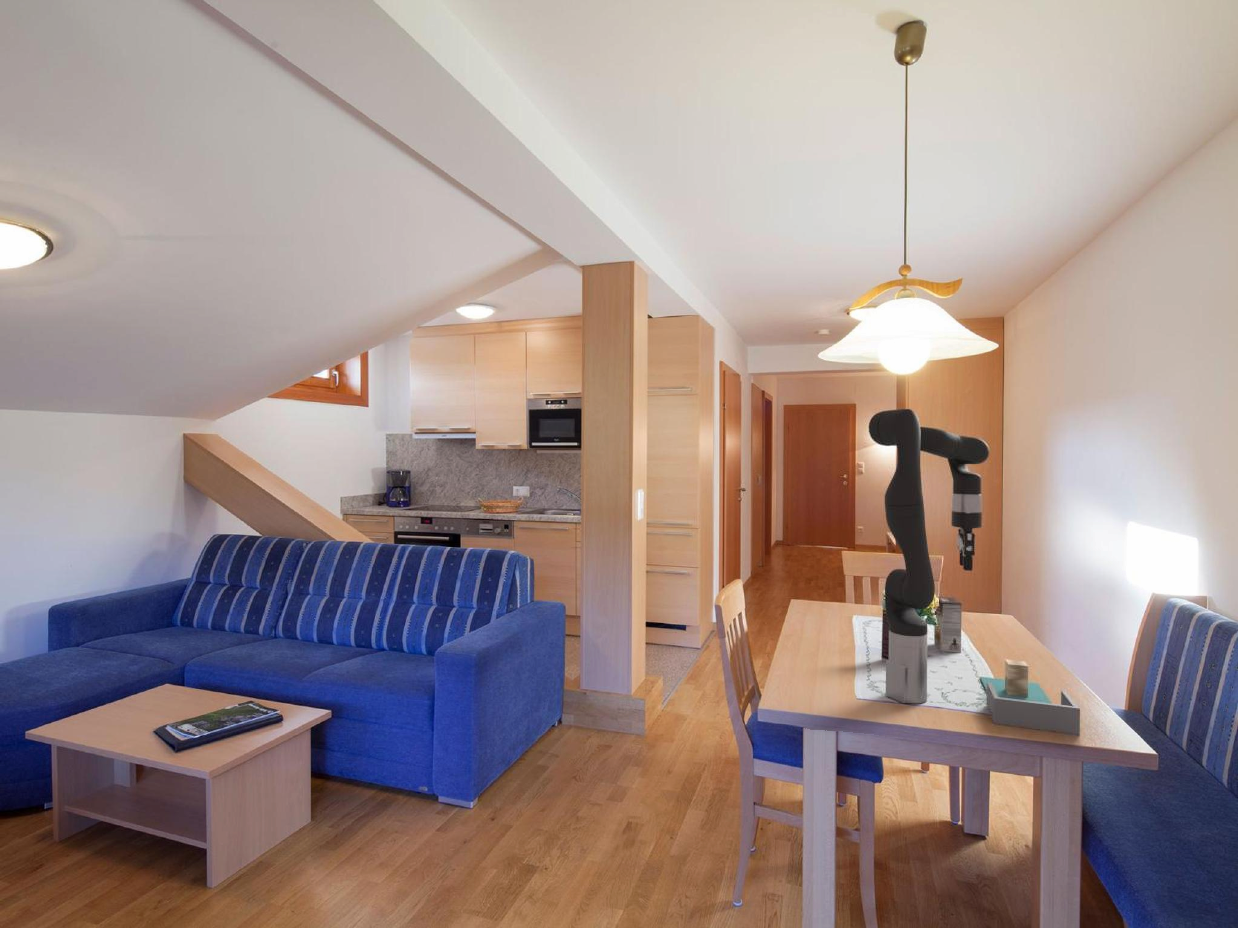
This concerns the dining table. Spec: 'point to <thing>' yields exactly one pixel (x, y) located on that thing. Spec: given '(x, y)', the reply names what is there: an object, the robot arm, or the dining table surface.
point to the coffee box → (948, 625)
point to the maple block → (1016, 677)
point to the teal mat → (1033, 695)
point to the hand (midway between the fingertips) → (965, 567)
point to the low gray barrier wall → (1034, 713)
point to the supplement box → (885, 637)
